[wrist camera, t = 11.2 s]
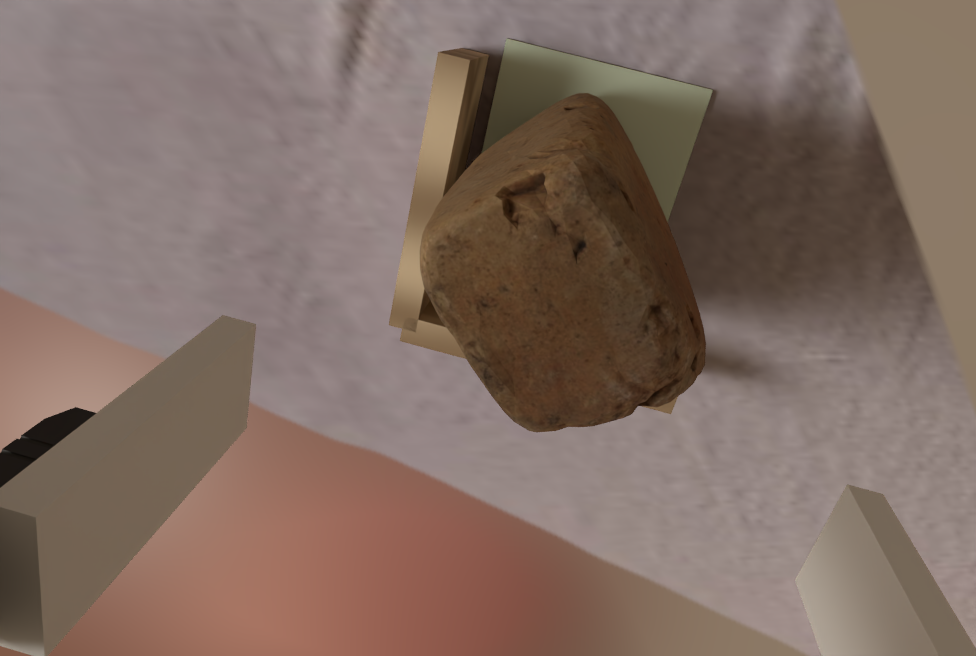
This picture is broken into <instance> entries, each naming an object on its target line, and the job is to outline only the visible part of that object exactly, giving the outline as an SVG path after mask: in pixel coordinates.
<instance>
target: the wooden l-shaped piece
mask: <svg viewBox="0 0 976 656" xmlns="http://www.w3.org/2000/svg"><path fill="white" fill-rule="evenodd" d="M488 57H489V55H487V54H483V53H479V52H475V51H471V50H467V49H463V48H459V49H453V50H448V51H442V52H438V56H437V62H436V67H435V73H434V78H433V84H432V89H431V95H430V100H429V106H428V112H427V117H426V123H425V128H424V134H423V139H422V145H421V150H420V156H419V161H418V167H417V172H416V178H415V183H414V189H413V194H412V200H411V205H410V211H409V216H408V222H407V227H406V233H405V238H404V244H403V249H402V255H401V260H400V266H399V272H398V277H397V283H396V288H395V294H394V299H393V305H392V310H391V316H390V321H389V325H391V326H394V327H398V328H402V332H401V338H400V341H402V342H406V343H410V344H413V345H417V346H421V347H424V348H428V349H432V350H435V351H439V352H443V353H447V354H450V355H454V356H458V357H461V358H465V359H466V357H465V355H464V354H463V352H462V350H461V348H460V347H459V345H458V343H457V342H456V340H455V338H454V337H453V336H452V334H451V333H450V332H449V330H448V329H447V328H446V326H445V325H444V324H443V323H442V321H441V320H440V318H439V316H438V314H437V312H436V310H435V308H434V306H433V304H432V302H431V300H430V298H429V297H428V295H427V293H426V291H425V289H424V285H423V281H422V276H421V272H420V246H421V239H422V234H423V231H424V229H425V226H426V224H427V223H428V221H429V219H430V218H431V216H432V214H433V212H434V210H435V208H436V207H437V205H438V204H439V202H440V201H441V199H442V198H443V197H444V195H445V194H446V193H447V192H448V191H449V189H450V188H451V187H452V186H453V185H454V184H455V182H456V181H457V180H458V179H459V177H460V176H461V175H462V174H463V172H464V171H465V167H466V162H467V157H468V153H469V148H470V143H471V138H472V134H473V129H474V124H475V119H476V115H477V110H478V105H479V100H480V96H481V91H482V86H483V81H484V76H485V72H486V67H487V62H488ZM677 397H678V396H677ZM677 397H676V398H675V399H674V400H672V401H671V402H669V403H667V404H664V405H662V406H659V407H650V406H643V407H646V408H650V409H654V410H658V411H661V412H665V413H669V414H671V412H672V410H673V407H674V405H675V402H676V400H677Z"/></svg>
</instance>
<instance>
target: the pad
mask: <svg viewBox="0 0 976 656" xmlns="http://www.w3.org/2000/svg"><path fill="white" fill-rule="evenodd" d="M712 91H713V90H711V89H707V88H703V87H699V86H695V85H691V84H687V83H683V82H679V81H675V80H671V79H667V78H663V77H659V76H655V75H651V74H647V73H643V72H639V71H635V70H631V69H627V68H623V67H619V66H615V65H611V64H607V63H603V62H599V61H595V60H591V59H587V58H583V57H579V56H575V55H571V54H567V53H563V52H559V51H555V50H551V49H547V48H543V47H539V46H535V45H531V44H527V43H523V42H519V41H515V40H511V39H506V43H505V48H504V53H503V57H502V62H501V66H500V71H499V76H498V80H497V85H496V89H495V94H494V98H493V103H492V108H491V112H490V117H489V121H488V126H487V131H486V135H485V140H484V144H483V149H482V153H483V152H484V151H485V150H487V149H488V148H489V147H491V146H492V145H493V144H495V143H496V142H497V141H499V140H500V139H502V138H503V137H504V136H506V135H507V134H509V133H510V132H512V131H513V130H515V129H516V128H518V127H519V126H521V125H522V124H524V123H525V122H527V121H528V120H530V119H531V118H533V117H534V116H536V115H538V114H539V113H541V112H542V111H544V110H545V109H547V108H548V107H550V106H551V105H553V104H555V103H556V102H558V101H560V100H562V99H564V98H566V97H569V96H571V95H574V94H578V93H589V94H592V95H594V96H597V97H598V98H600V99H601V100H602V101H604V102H605V103H606V104H607V105H608V106H609V108H610V109H611V110H612V111H613V113H614V114H615V116H616V117H617V119H618V121H619V122H620V124H621V126H622V127H623V129H624V131H625V133H626V134H627V136H628V138H629V140H630V141H631V143H632V145H633V148H634V150H635V152H636V154H637V156H638V158H639V159H640V162H641V164H642V166H643V168H644V170H645V172H646V174H647V176H648V179H649V181H650V183H651V185H652V187H653V190H654V192H655V194H656V196H657V199H658V201H659V203H660V206H661V208H662V210H663V213H664V215H665V217H666V220H667V223H668V220H669V217H670V214H671V211H672V208H673V205H674V202H675V199H676V196H677V193H678V190H679V188H680V185H681V182H682V179H683V176H684V173H685V170H686V167H687V164H688V161H689V158H690V155H691V153H692V150H693V147H694V144H695V141H696V138H697V135H698V132H699V129H700V126H701V123H702V120H703V118H704V115H705V112H706V109H707V106H708V103H709V100H710V97H711V94H712Z"/></svg>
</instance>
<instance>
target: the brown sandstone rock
mask: <svg viewBox="0 0 976 656" xmlns="http://www.w3.org/2000/svg"><path fill="white" fill-rule="evenodd" d="M420 272H421V276H422V281H423V285H424V289H425V291H426V293H427V295H428V297H429V298H430V300H431V302H432V304H433V306H434V308H435V310H436V312H437V314H438V316H439V318H440V320H441V321H442V323H443V324H444V325H445V326H446V328H447V329H448V330H449V332H450V333H451V334H452V336H453V337H454V338H455V340H456V342H457V343H458V345H459V347H460V348H461V350H462V352H463V354H464V355H465V357H466V359H467V360H468V362H469V364H470V365H471V367H472V368H473V370H474V371H475V373H476V374H477V375H478V377H479V378H480V380H481V381H482V383H483V384H484V385H485V387H486V388H487V390H488V391H489V393H490V394H491V395H492V397H493V398H494V399H495V401H496V402H497V403H498V404H499V406H500V407H501V408H502V410H503V411H504V412H505V413H506V414H507V415H508V416H509V417H510V418H511V419H512V420H513V421H514V422H515V423H517V424H519V425H521V426H522V427H524V428H526V429H527V430H529V431H533V432H547V431H557V430H560V429H563V428H566V427H588V426H595V425H599V424H603V423H606V422H610V421H614V420H617V419H621V418H624V417H626V416H629V415H631V414H632V413H633V412H634V410H635V409H636V408H637V406H650V407H659V406H662V405H664V404H667V403H669V402H671V401H672V400H674V399H675V398H676V397H677V396H679V395H680V394H682V393H684V392H685V391H686V390H687V389H688V388H689V387H690V386H691V385H692V384H693V383H694V381H695V380H696V378H697V376H698V375H699V374H700V373H701V371H702V369H703V367H704V365H705V349H706V342H705V335H704V328H703V324H702V321H701V317H700V313H699V310H698V307H697V303H696V300H695V297H694V294H693V291H692V288H691V285H690V282H689V279H688V276H687V274H686V271H685V268H684V265H683V262H682V259H681V257H680V254H679V251H678V248H677V246H676V243H675V240H674V238H673V236H672V233H671V231H670V228H669V225H668V223H667V220H666V217H665V215H664V213H663V210H662V208H661V206H660V203H659V201H658V199H657V196H656V194H655V192H654V190H653V187H652V185H651V183H650V181H649V179H648V176H647V174H646V172H645V170H644V168H643V166H642V164H641V162H640V159H639V158H638V156H637V154H636V152H635V150H634V148H633V145H632V143H631V141H630V140H629V138H628V136H627V134H626V133H625V131H624V129H623V127H622V126H621V124H620V122H619V121H618V119H617V117H616V116H615V114H614V113H613V111H612V110H611V109H610V108H609V106H608V105H607V104H606V103H605V102H604V101H602V100H601V99H600V98H598V97H597V96H594V95H592V94H589V93H578V94H574V95H571V96H569V97H566V98H564V99H562V100H560V101H558V102H556V103H555V104H553V105H551V106H550V107H548V108H547V109H545V110H544V111H542V112H541V113H539V114H538V115H536V116H534V117H533V118H531V119H530V120H528V121H527V122H525V123H524V124H522V125H521V126H519V127H518V128H516V129H515V130H513V131H512V132H510V133H509V134H507V135H506V136H504V137H503V138H502V139H500V140H499V141H497V142H496V143H495V144H493V145H492V146H491V147H489V148H488V149H487V150H485V151H484V152H483V153H482V154H480V155H479V156H478V157H477V158H476V159H475V160H474V161H473V162H472V164H471V165H470V166H469V167H468V168H467V169H466V170H465V171H464V172H463V174H462V175H461V176H460V177H459V179H458V180H457V181H456V182H455V184H454V185H453V186H452V187H451V188H450V189H449V191H448V192H447V193H446V194H445V195H444V197H443V198H442V199H441V201H440V202H439V204H438V205H437V207H436V208H435V210H434V212H433V214H432V216H431V218H430V219H429V221H428V223H427V224H426V226H425V229H424V231H423V234H422V239H421V246H420Z"/></svg>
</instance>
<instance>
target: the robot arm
mask: <svg viewBox="0 0 976 656" xmlns="http://www.w3.org/2000/svg"><path fill="white" fill-rule="evenodd" d="M255 330H256V324H253V323H250V322H246V321H242V320H238V319H235V318H231V317H227V316H224V315H223V316H221V317H220V318H219V319H217V320H216V321H215V322H214V323H212V324H211V325H210V326H208V327H207V328H206V329H205V330H203V331H202V332H201V333H199V334H198V335H197V336H195V337H194V338H193V339H192V340H190V341H189V342H188V343H186V344H185V345H184V346H183V347H181V348H180V349H179V350H177V351H176V352H175V353H174V354H172V355H171V356H170V357H168V358H167V359H166V360H165V361H163V362H162V363H161V364H160V365H158V366H157V367H156V368H154V369H153V370H152V371H150V372H149V373H148V374H146V375H145V376H144V377H143V378H141V379H140V380H139V381H137V382H136V383H135V384H134V385H132V386H131V387H130V388H128V389H127V390H126V391H125V392H123V393H122V394H121V395H119V396H118V397H117V398H116V399H114V400H113V401H112V402H110V403H109V404H108V405H106V406H105V407H104V408H103V409H102V410H100V411H99V412H98V413H94V412H90V411H87V410H83V409H80V408H76V407H75V408H73V409H70V410H67V411H65V412H62V413H59V414H57V415H54V416H51V417H48V418H46V419H44V420H43V421H41V422H40V423H38V424H37V425H35V426H34V427H33V428H31V429H30V430H28V431H27V432H26V433H24V434H23V435H21V438H20V439H16V440H14V441H13V442H12V443H10V444H9V445H8V446H6V447H5V448H3V449H2V452H1V453H0V646H2V647H6V648H9V649H12V650H16V651H19V652H22V653H26V654H29V655H33V656H48V655H49V654H50V653H51V652H52V650H53V649H54V648H55V647H56V646H57V644H58V643H59V642H60V641H61V640H62V639H63V638H64V636H65V635H66V634H67V633H68V632H69V631H70V630H71V629H72V627H73V626H74V625H75V624H76V623H77V622H78V621H79V619H80V618H81V617H82V616H83V615H84V614H85V613H86V611H87V610H88V609H89V608H90V607H91V606H92V604H93V603H94V602H95V601H96V600H97V599H98V598H99V596H100V595H101V594H102V593H103V592H104V591H105V590H106V588H107V587H108V586H109V585H110V584H111V583H112V581H113V580H114V579H115V578H116V577H117V576H118V575H119V573H120V572H121V571H122V570H123V569H124V568H125V567H126V565H127V564H128V563H129V562H130V561H131V560H132V559H133V557H134V556H135V555H136V554H137V553H138V552H139V551H140V549H141V548H142V547H143V546H144V545H145V544H146V543H147V541H148V540H149V539H150V538H151V537H152V535H154V533H155V532H156V531H157V530H158V529H159V528H160V526H161V525H162V524H163V523H164V522H165V521H166V520H167V519H168V517H169V516H170V515H171V514H172V512H174V511H175V509H176V508H177V507H178V506H179V505H180V504H181V503H182V501H183V500H184V499H185V498H186V497H187V496H188V494H189V493H190V492H191V491H192V490H193V489H194V488H195V486H196V485H197V484H198V483H199V482H200V481H201V480H202V478H203V477H204V476H205V475H206V474H207V473H208V471H209V470H210V469H211V468H212V467H213V466H214V465H215V464H216V462H217V461H218V460H219V459H220V458H221V457H222V456H223V454H224V453H225V452H226V451H227V450H228V449H229V447H230V446H231V445H232V444H233V443H234V442H235V441H236V439H237V438H238V437H239V436H240V435H241V434H242V433H243V431H244V430H245V429H246V428H247V417H248V407H249V396H250V385H251V374H252V363H253V352H254V341H255ZM795 582H796V584H797V587H798V590H799V593H800V596H801V599H802V602H803V604H804V607H805V610H806V613H807V616H808V619H809V622H810V624H811V627H812V630H813V633H814V636H815V639H816V641H817V644H818V647H819V650H820V653H821V656H976V648H975V646H974V645H973V643H972V641H971V640H970V638H969V636H968V635H967V633H966V631H965V630H964V628H963V626H962V625H961V623H960V621H959V620H958V618H957V616H956V615H955V613H954V612H953V610H952V608H951V607H950V605H949V603H948V602H947V600H946V598H945V597H944V595H943V593H942V592H941V590H940V588H939V587H938V585H937V583H936V582H935V580H934V578H933V577H932V575H931V573H930V572H929V570H928V568H927V567H926V565H925V563H924V562H923V560H922V558H921V557H920V555H919V553H918V552H917V550H916V548H915V547H914V545H913V543H912V542H911V540H910V538H909V537H908V535H907V533H906V532H905V530H904V528H903V527H902V525H901V523H900V522H899V520H898V518H897V517H896V515H895V513H894V512H893V510H892V508H891V507H890V505H889V503H888V502H887V500H886V498H885V497H884V495H883V494H880V493H877V492H873V491H869V490H866V489H862V488H858V487H854V486H851V485H847V486H846V488H845V489H844V491H843V493H842V495H841V497H840V499H839V500H838V502H837V504H836V506H835V508H834V510H833V511H832V513H831V515H830V517H829V519H828V521H827V522H826V524H825V526H824V528H823V530H822V532H821V533H820V535H819V537H818V539H817V541H816V543H815V544H814V546H813V548H812V550H811V552H810V554H809V556H808V557H807V559H806V561H805V563H804V565H803V567H802V568H801V570H800V572H799V574H798V576H797V578H796V579H795Z"/></svg>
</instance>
